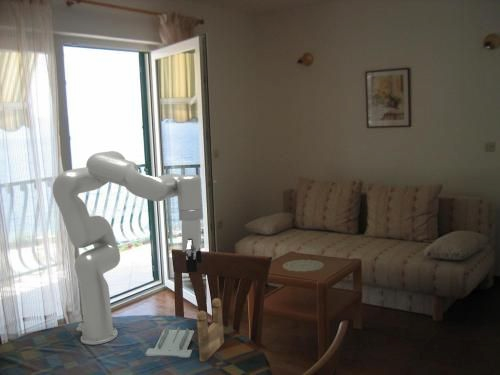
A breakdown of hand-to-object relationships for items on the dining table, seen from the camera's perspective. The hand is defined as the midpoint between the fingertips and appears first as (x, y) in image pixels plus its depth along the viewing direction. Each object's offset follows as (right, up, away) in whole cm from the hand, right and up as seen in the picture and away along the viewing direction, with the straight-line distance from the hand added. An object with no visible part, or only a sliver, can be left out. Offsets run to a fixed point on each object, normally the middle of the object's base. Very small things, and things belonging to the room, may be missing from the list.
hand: (194, 266), depth 160 cm
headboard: (+6, -28, +2) cm, 28 cm away
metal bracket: (-7, -28, +7) cm, 30 cm away
